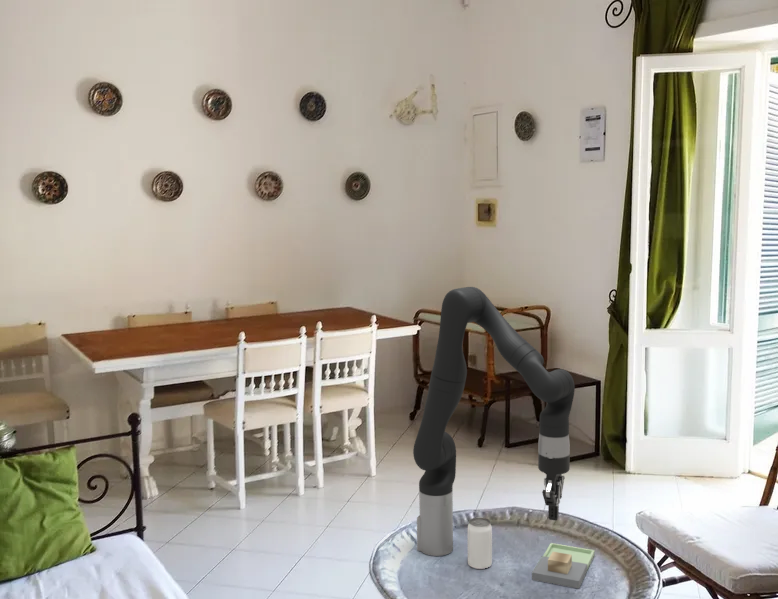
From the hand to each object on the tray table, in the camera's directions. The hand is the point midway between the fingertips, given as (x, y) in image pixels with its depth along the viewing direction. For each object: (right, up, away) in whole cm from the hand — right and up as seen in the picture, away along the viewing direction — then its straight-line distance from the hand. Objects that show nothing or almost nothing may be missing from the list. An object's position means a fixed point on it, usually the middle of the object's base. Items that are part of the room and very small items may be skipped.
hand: (553, 518), depth 202 cm
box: (+8, -16, +18) cm, 25 cm away
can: (-16, -17, +16) cm, 29 cm away
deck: (+4, -17, +9) cm, 20 cm away
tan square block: (+3, -15, +9) cm, 18 cm away
